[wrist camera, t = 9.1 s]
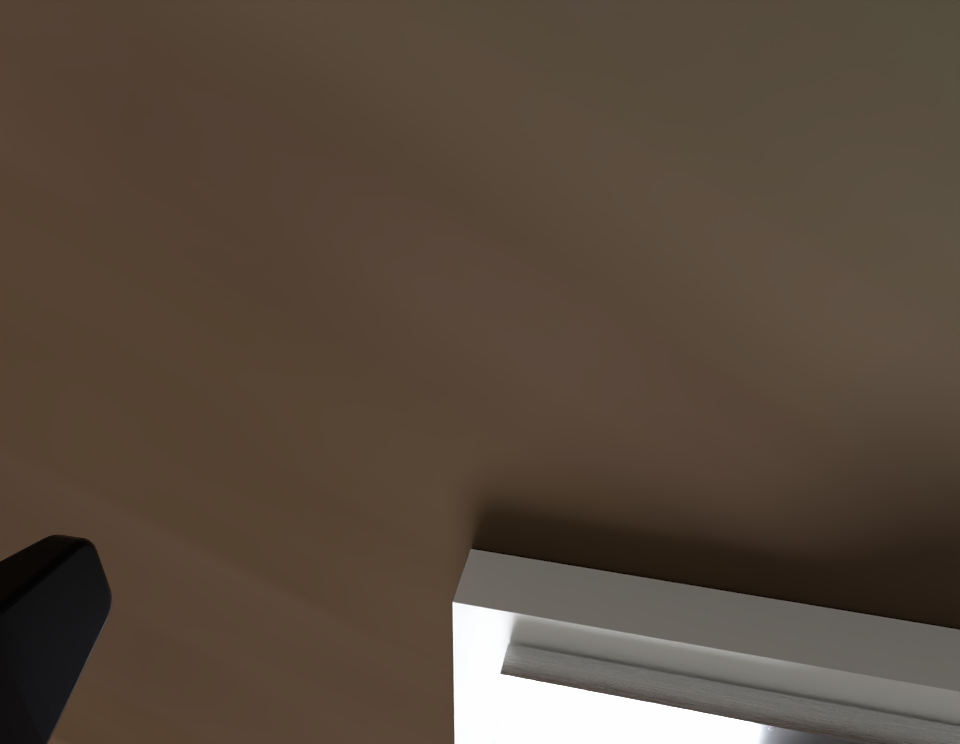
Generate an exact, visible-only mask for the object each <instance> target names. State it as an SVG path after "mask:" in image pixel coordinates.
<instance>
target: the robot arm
mask: <svg viewBox="0 0 960 744" xmlns="http://www.w3.org/2000/svg"><path fill="white" fill-rule="evenodd" d="M111 604H112V594H111V590H110V587H109V584H108V581H107V578H106V576H105V573H104V570H103V567H102V564H101V561H100V558H99V555H98V553H97V550H96V548H95V546H94V544H93V543H92V542H91V541H89V540H87V539H85V538H79V537H72V536H65V535H52V536H48V537H46V538H44V539H42V540H40V541H38V542H36V543H34V544H32V545H31V546H29V547H27V548H25V549H23V550H21V551H19V552H17V553H15V554H14V555H12V556H10V557H8V558H6V559H4V560H2V561H0V744H48V742H49V740H50V738H51V736H52V734H53V732H54V730H55V728H56V726H57V724H58V722H59V720H60V718H61V716H62V714H63V712H64V710H65V708H66V705H67V703H68V701H69V699H70V697H71V695H72V693H73V691H74V689H75V686H76V684H77V682H78V680H79V678H80V676H81V674H82V672H83V670H84V668H85V665H86V663H87V661H88V659H89V657H90V655H91V653H92V651H93V649H94V646H95V644H96V642H97V640H98V638H99V636H100V634H101V632H102V630H103V628H104V625H105V623H106V621H107V619H108V616H109V614H110V610H111Z"/></svg>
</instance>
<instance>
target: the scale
mask: <svg viewBox="0 0 960 744" xmlns="http://www.w3.org/2000/svg"><path fill="white" fill-rule="evenodd" d="M508 644H514V645H519V646H524V647H530V648H535V649H541V650H546V651H552V652H557V653H563V654H568V655H573V656H579V657H584V658H590V659H595V660H601V661H606V662H611V663H617V664H622V665H628V666H633V667H639V668H644V669H650V670H655V671H660V672H666V673H671V674H677V675H682V676H688V677H693V678H699V679H704V680H709V681H715V682H720V683H726V684H731V685H737V686H742V687H747V688H753V689H758V690H764V691H769V692H775V693H780V694H786V695H791V696H796V697H802V698H807V699H813V700H818V701H824V702H829V703H835V704H840V705H845V706H851V707H856V708H862V709H867V710H873V711H878V712H883V713H889V714H894V715H900V716H905V717H911V718H916V719H922V720H927V721H932V722H938V723H943V724H949V725H954V726H960V630H959V629H953V628H947V627H941V626H935V625H929V624H923V623H916V622H910V621H904V620H898V619H892V618H886V617H880V616H874V615H868V614H862V613H856V612H850V611H844V610H838V609H832V608H826V607H820V606H814V605H808V604H801V603H795V602H789V601H783V600H777V599H771V598H765V597H759V596H753V595H747V594H741V593H735V592H729V591H723V590H717V589H711V588H705V587H699V586H693V585H686V584H680V583H674V582H668V581H662V580H656V579H650V578H644V577H638V576H632V575H626V574H620V573H614V572H608V571H602V570H596V569H590V568H584V567H578V566H571V565H565V564H559V563H553V562H547V561H541V560H535V559H529V558H523V557H517V556H511V555H505V554H499V553H493V552H487V551H481V550H475V549H471V550H470V553H469V556H468V558H467V561H466V564H465V567H464V570H463V573H462V576H461V579H460V582H459V585H458V588H457V591H456V594H455V597H454V599H453V659H454V727H455V744H498V735H499V697H500V673H501V669H502V665H503V661H504V657H505V653H506V650H507V646H508Z"/></svg>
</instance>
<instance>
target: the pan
mask: <svg viewBox="0 0 960 744" xmlns="http://www.w3.org/2000/svg"><path fill="white" fill-rule="evenodd" d="M498 744H960V726H954V725H949V724H943V723H938V722H932V721H927V720H922V719H916V718H911V717H905V716H900V715H894V714H889V713H883V712H878V711H873V710H867V709H862V708H856V707H851V706H845V705H840V704H835V703H829V702H824V701H818V700H813V699H807V698H802V697H796V696H791V695H786V694H780V693H775V692H769V691H764V690H758V689H753V688H747V687H742V686H737V685H731V684H726V683H720V682H715V681H709V680H704V679H699V678H693V677H688V676H682V675H677V674H671V673H666V672H660V671H655V670H650V669H644V668H639V667H633V666H628V665H622V664H617V663H611V662H606V661H601V660H595V659H590V658H584V657H579V656H573V655H568V654H563V653H557V652H552V651H546V650H541V649H535V648H530V647H524V646H519V645H514V644H508V646H507V650H506V653H505V657H504V661H503V665H502V669H501V673H500V697H499V735H498Z"/></svg>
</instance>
